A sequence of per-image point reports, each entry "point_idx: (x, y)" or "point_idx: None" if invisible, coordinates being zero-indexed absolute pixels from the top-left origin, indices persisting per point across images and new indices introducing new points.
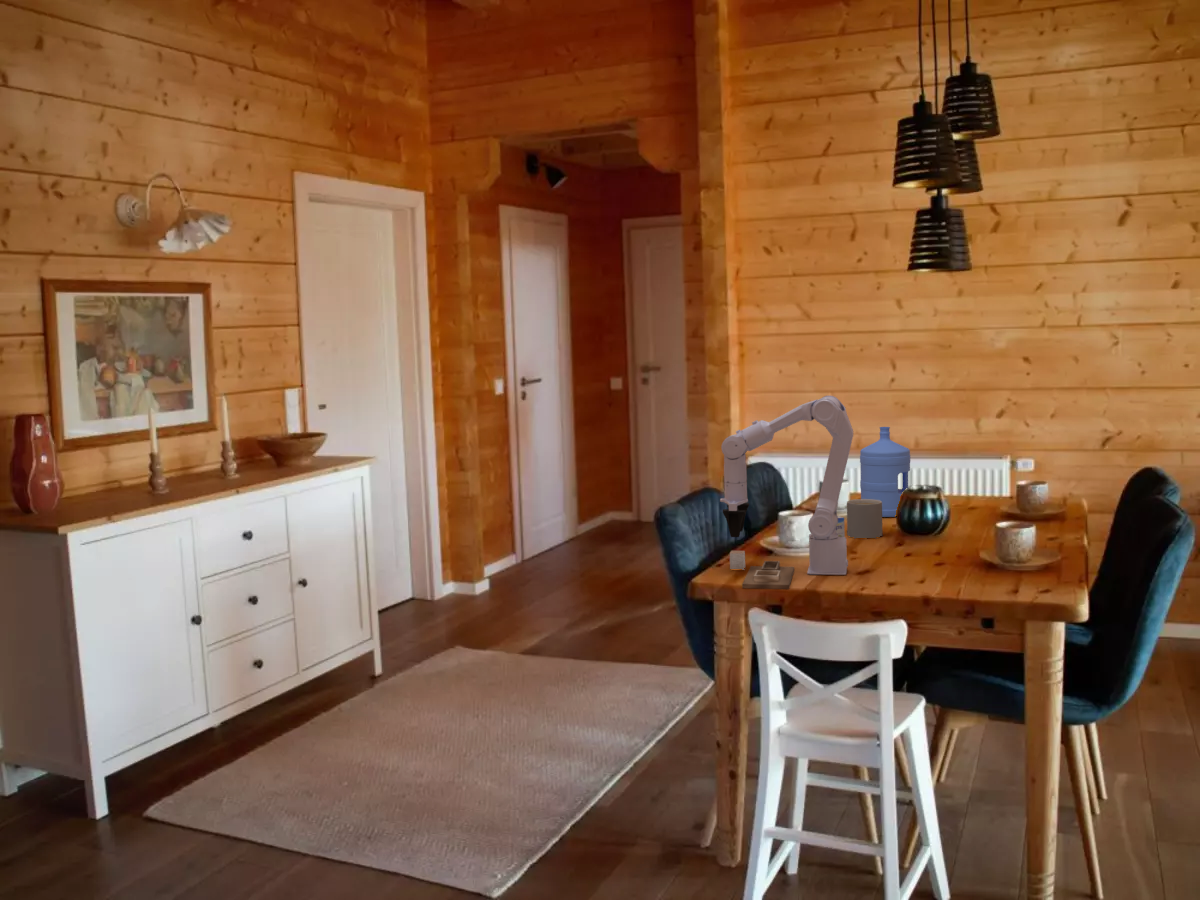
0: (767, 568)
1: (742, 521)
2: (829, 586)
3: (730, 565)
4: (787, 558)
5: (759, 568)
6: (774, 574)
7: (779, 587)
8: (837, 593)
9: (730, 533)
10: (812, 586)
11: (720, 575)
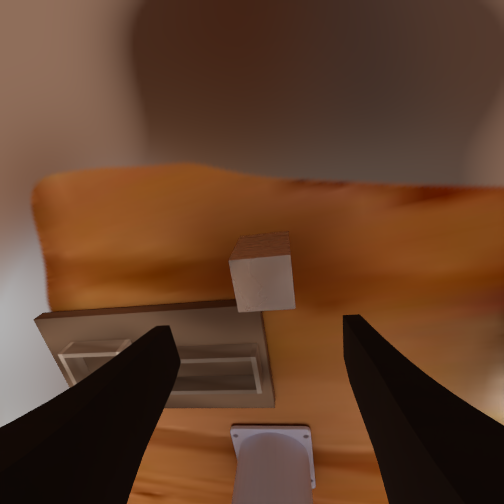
0: None
1: (368, 422)
2: (143, 456)
3: (238, 243)
4: (449, 371)
5: (230, 332)
6: None
7: None
8: None
9: (139, 340)
10: None
11: (159, 222)
